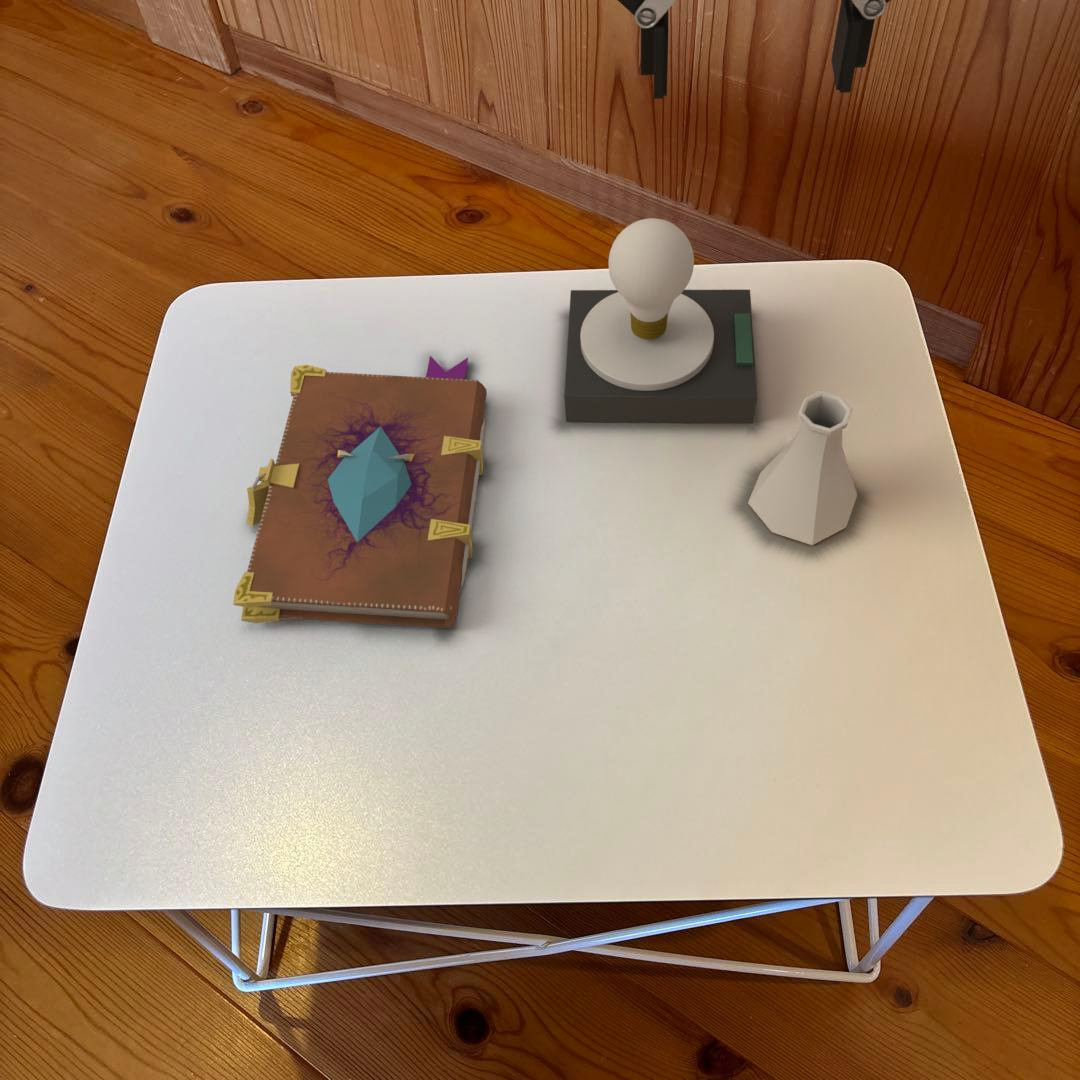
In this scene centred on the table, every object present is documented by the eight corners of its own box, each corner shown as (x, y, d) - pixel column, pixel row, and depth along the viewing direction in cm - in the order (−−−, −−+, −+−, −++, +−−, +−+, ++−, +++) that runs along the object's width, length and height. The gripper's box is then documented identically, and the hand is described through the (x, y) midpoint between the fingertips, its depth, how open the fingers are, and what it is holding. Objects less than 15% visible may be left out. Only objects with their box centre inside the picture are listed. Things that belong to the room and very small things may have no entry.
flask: (729, 506, 74) (743, 415, 65) (789, 444, 76) (811, 349, 68) (815, 563, 71) (841, 475, 62) (874, 496, 73) (908, 404, 65)
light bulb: (596, 321, 79) (593, 216, 71) (665, 296, 80) (671, 189, 72) (630, 374, 76) (631, 270, 68) (702, 347, 77) (712, 241, 68)
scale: (746, 316, 83) (751, 281, 80) (753, 423, 78) (758, 389, 74) (572, 317, 85) (570, 282, 81) (565, 422, 79) (563, 389, 76)
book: (497, 367, 83) (494, 322, 79) (462, 643, 70) (456, 607, 66) (296, 357, 84) (283, 312, 80) (223, 627, 71) (203, 591, 67)
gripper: (993, -358, 43) (905, 35, 57) (577, -327, 45) (592, 47, 59) (1027, -286, 39) (923, 118, 53) (568, -254, 41) (587, 129, 55)
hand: (749, 80), depth 56 cm, fingers open, 9 cm apart
